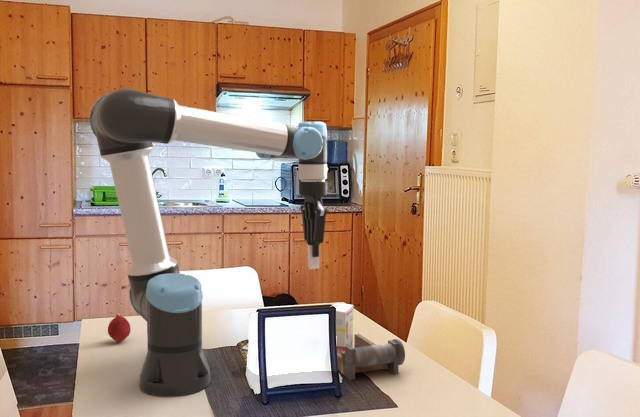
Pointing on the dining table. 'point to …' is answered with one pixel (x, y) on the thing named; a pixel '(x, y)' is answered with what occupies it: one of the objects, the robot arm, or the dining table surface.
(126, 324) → the onion
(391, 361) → the grey roller holder
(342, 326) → the ink box
